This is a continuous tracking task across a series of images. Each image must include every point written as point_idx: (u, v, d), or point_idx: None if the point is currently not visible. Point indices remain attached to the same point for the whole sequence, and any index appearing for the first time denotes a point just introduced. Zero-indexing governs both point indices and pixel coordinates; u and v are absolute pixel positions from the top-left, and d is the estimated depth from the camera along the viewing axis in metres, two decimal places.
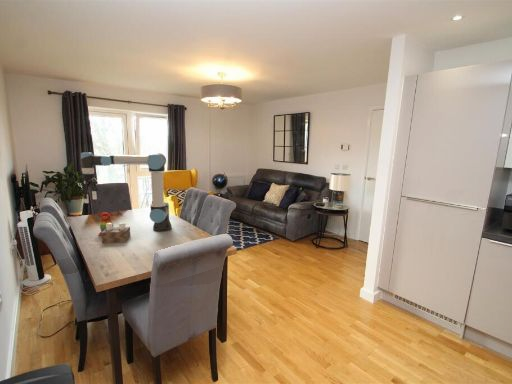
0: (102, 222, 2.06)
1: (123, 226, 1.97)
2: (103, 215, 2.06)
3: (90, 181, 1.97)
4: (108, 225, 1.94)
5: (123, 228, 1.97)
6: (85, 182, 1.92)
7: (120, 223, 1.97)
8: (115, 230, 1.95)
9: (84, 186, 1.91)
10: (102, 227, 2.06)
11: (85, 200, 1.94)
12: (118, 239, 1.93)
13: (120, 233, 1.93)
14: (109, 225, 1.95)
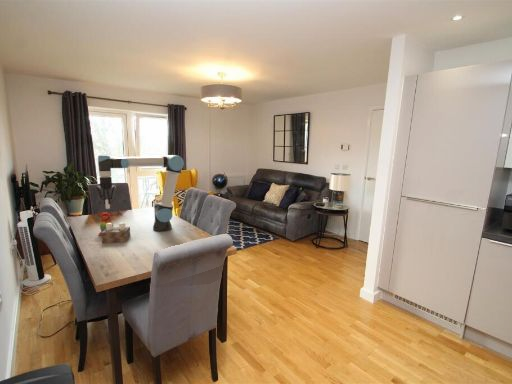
0: (102, 222, 2.06)
1: (123, 226, 1.97)
2: (103, 215, 2.06)
3: None
4: (108, 225, 1.94)
5: (123, 228, 1.97)
6: None
7: (120, 223, 1.97)
8: (115, 230, 1.95)
9: None
10: (102, 227, 2.06)
11: None
12: (118, 239, 1.93)
13: (120, 233, 1.93)
14: (109, 225, 1.95)
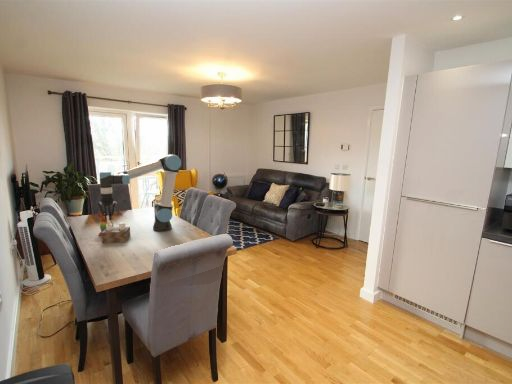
0: (102, 222, 2.06)
1: (123, 226, 1.97)
2: (103, 215, 2.06)
3: (103, 201, 1.91)
4: (108, 226, 1.94)
5: (123, 228, 1.97)
6: None
7: (120, 223, 1.97)
8: (115, 230, 1.95)
9: None
10: (102, 227, 2.06)
11: None
12: (118, 239, 1.93)
13: (120, 233, 1.93)
14: (109, 226, 1.95)
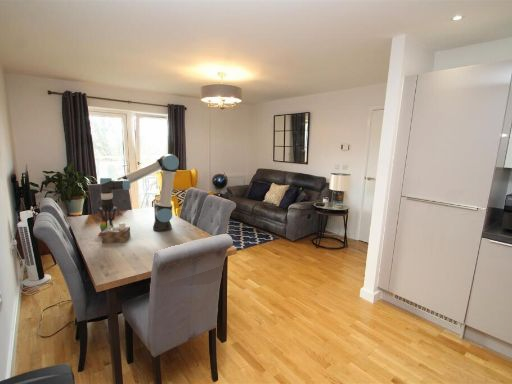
0: (102, 222, 2.06)
1: (123, 226, 1.97)
2: None
3: (104, 207, 1.92)
4: None
5: (123, 228, 1.97)
6: None
7: (120, 223, 1.97)
8: (115, 230, 1.95)
9: None
10: (102, 227, 2.06)
11: None
12: (118, 239, 1.93)
13: (120, 233, 1.93)
14: None
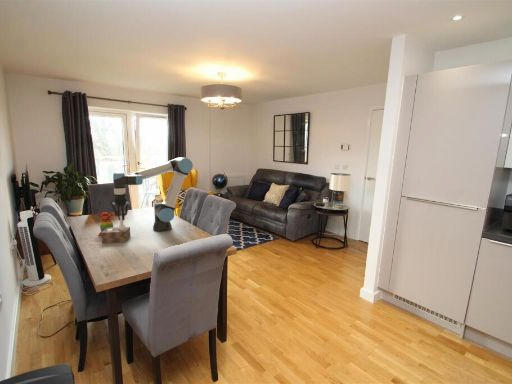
0: (102, 222, 2.06)
1: (123, 228, 1.97)
2: (103, 215, 2.06)
3: (117, 202, 1.93)
4: None
5: None
6: None
7: (120, 225, 1.97)
8: (115, 230, 1.95)
9: None
10: (102, 227, 2.06)
11: None
12: (118, 239, 1.93)
13: (120, 233, 1.93)
14: None
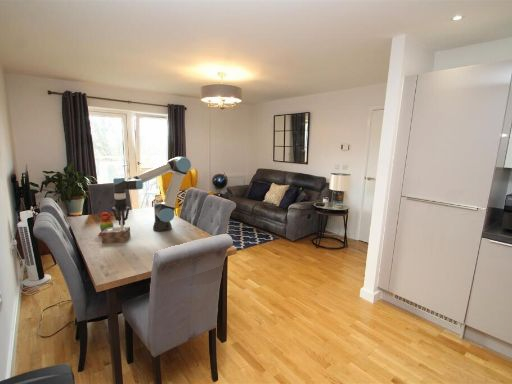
0: (102, 222, 2.06)
1: None
2: (103, 215, 2.06)
3: (117, 207, 1.93)
4: None
5: None
6: None
7: (120, 229, 1.98)
8: (115, 230, 1.95)
9: None
10: (102, 227, 2.06)
11: None
12: (118, 239, 1.93)
13: (120, 233, 1.93)
14: None
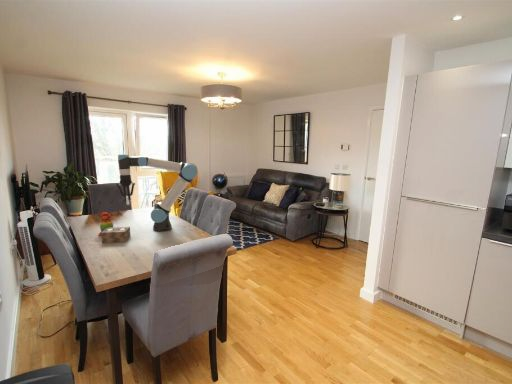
0: (102, 222, 2.06)
1: None
2: (103, 215, 2.06)
3: (122, 182, 2.00)
4: None
5: None
6: None
7: (120, 229, 1.98)
8: (115, 230, 1.95)
9: None
10: (102, 227, 2.06)
11: None
12: (118, 239, 1.93)
13: (120, 233, 1.93)
14: None
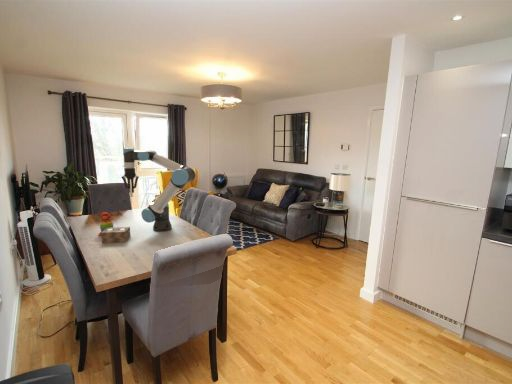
0: (102, 222, 2.06)
1: None
2: (103, 215, 2.06)
3: (127, 175, 2.09)
4: None
5: None
6: None
7: (120, 229, 1.98)
8: (115, 230, 1.95)
9: None
10: (102, 227, 2.06)
11: None
12: (118, 239, 1.93)
13: (120, 233, 1.93)
14: None
